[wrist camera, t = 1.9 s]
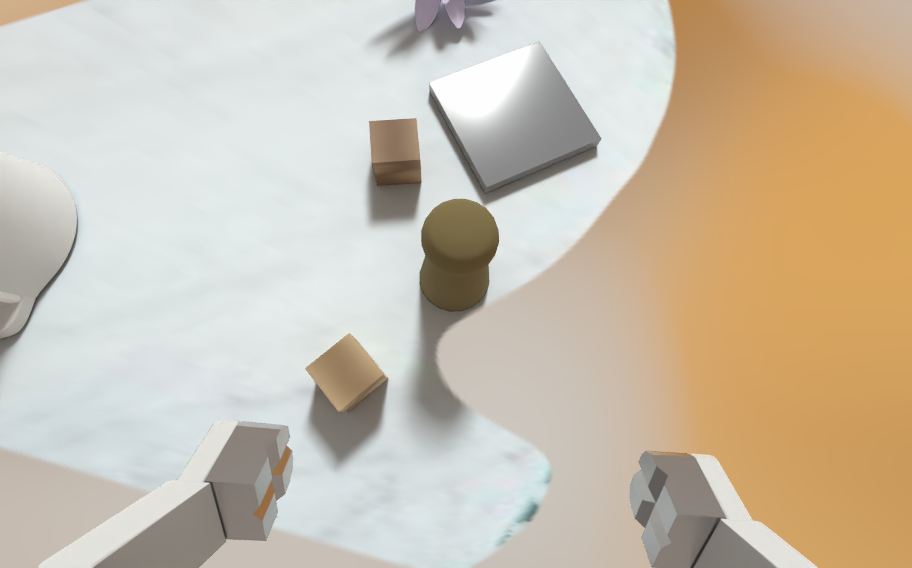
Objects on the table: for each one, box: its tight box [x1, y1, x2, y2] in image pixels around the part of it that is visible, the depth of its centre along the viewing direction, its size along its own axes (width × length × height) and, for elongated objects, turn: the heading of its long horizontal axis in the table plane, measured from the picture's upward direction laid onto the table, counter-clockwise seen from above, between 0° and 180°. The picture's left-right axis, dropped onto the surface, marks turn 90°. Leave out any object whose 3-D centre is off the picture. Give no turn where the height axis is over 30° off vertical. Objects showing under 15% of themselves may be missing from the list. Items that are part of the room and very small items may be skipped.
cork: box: [420, 199, 499, 311], centre depth 34 cm, size 6×6×11 cm
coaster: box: [429, 42, 601, 193], centre depth 44 cm, size 12×12×1 cm
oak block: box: [305, 333, 388, 412], centre depth 35 cm, size 4×4×4 cm
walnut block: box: [369, 118, 421, 186], centre depth 41 cm, size 4×4×4 cm
